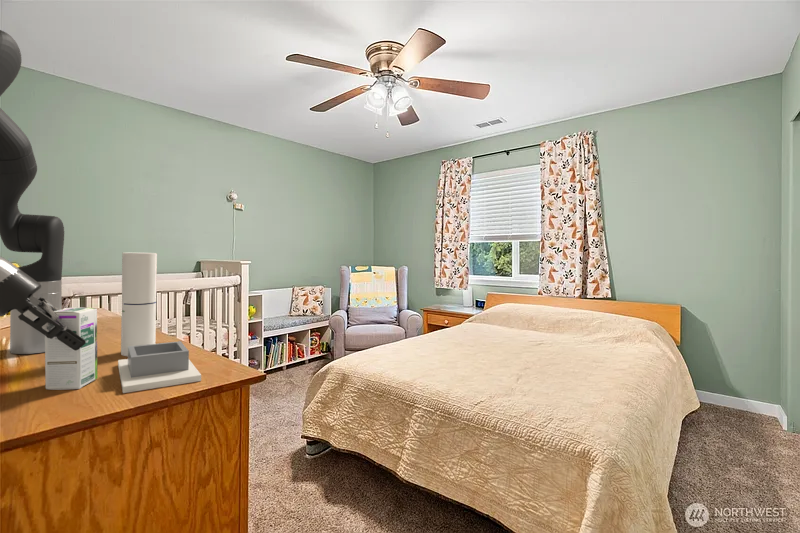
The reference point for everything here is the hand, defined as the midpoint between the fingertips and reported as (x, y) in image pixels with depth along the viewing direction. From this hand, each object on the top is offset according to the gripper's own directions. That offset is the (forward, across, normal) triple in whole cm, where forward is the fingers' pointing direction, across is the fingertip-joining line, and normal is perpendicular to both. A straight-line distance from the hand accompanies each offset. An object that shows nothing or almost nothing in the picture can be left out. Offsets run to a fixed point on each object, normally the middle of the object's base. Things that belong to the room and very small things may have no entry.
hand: (82, 341), depth 75 cm
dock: (+15, 0, -3) cm, 15 cm away
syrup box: (+5, 0, +7) cm, 8 cm away
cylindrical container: (+13, +20, -2) cm, 24 cm away
